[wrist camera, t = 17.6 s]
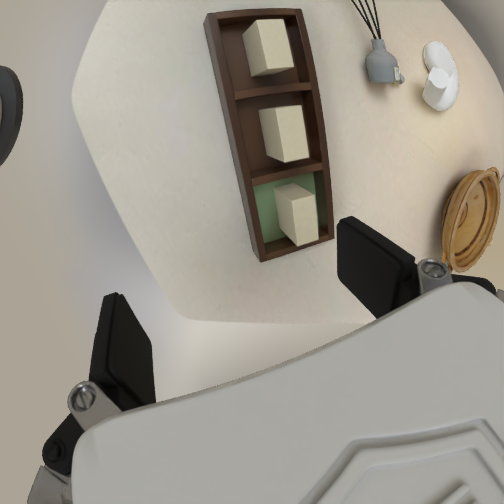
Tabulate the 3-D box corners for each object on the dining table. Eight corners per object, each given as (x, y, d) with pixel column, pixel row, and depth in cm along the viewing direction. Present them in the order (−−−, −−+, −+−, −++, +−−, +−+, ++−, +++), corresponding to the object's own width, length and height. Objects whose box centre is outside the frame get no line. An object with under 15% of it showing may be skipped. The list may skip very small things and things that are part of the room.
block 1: (251, 77, 28) (267, 69, 23) (241, 34, 25) (256, 19, 20) (274, 74, 28) (294, 66, 23) (265, 33, 25) (283, 18, 20)
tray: (252, 250, 40) (260, 263, 37) (203, 23, 23) (206, 13, 20) (322, 228, 41) (334, 238, 38) (289, 16, 25) (301, 8, 22)
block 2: (266, 155, 33) (284, 162, 28) (257, 110, 30) (275, 108, 25) (288, 150, 34) (309, 157, 28) (280, 106, 31) (301, 104, 25)
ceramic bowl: (438, 278, 59) (458, 294, 52) (402, 240, 48) (430, 259, 41) (487, 190, 52) (509, 200, 45) (462, 130, 41) (491, 138, 34)
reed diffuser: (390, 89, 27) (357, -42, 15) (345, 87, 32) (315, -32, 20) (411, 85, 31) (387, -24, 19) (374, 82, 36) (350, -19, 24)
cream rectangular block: (279, 228, 38) (297, 246, 33) (273, 187, 35) (291, 200, 30) (299, 222, 39) (319, 239, 34) (293, 182, 36) (315, 194, 31)
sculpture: (455, 74, 34) (485, 77, 27) (435, 124, 38) (468, 131, 31) (424, 31, 29) (456, 28, 22) (401, 80, 33) (437, 81, 26)
